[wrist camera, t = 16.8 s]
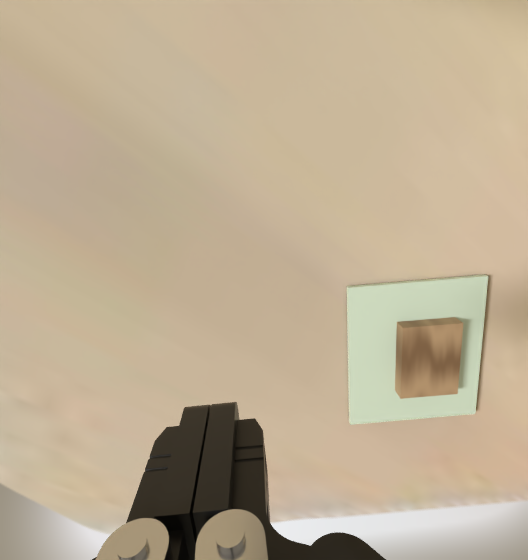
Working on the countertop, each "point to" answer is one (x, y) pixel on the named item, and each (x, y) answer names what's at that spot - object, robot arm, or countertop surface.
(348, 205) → the countertop surface
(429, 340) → the brown wooden block
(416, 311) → the mat
